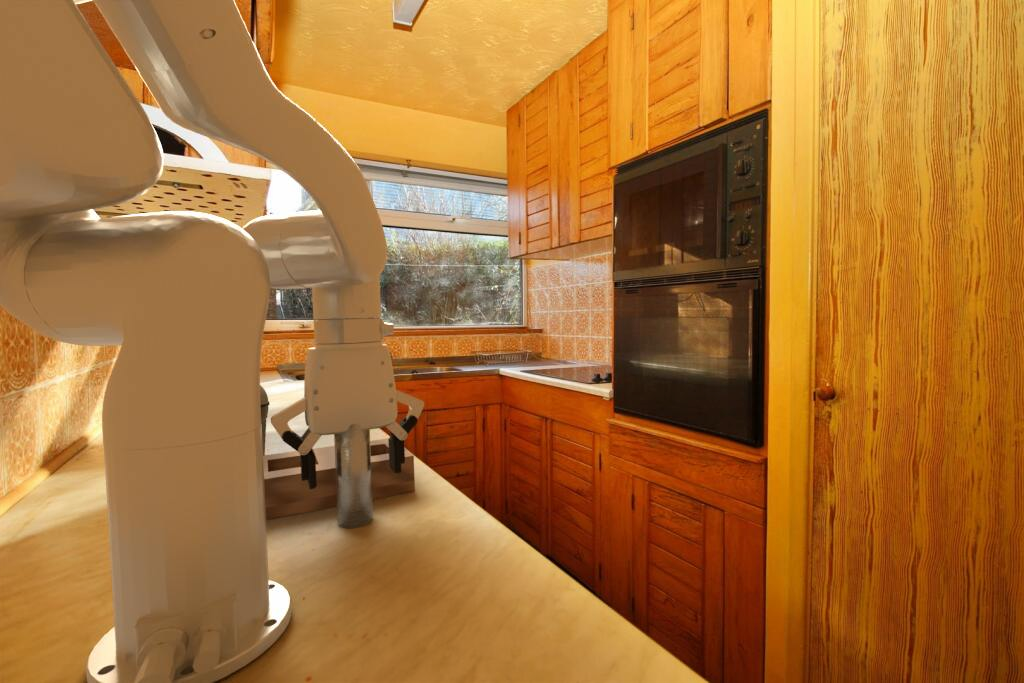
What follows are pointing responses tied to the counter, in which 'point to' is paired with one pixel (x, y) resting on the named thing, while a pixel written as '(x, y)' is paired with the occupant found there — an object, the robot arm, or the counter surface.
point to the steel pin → (353, 477)
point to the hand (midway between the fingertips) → (355, 477)
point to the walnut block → (327, 480)
